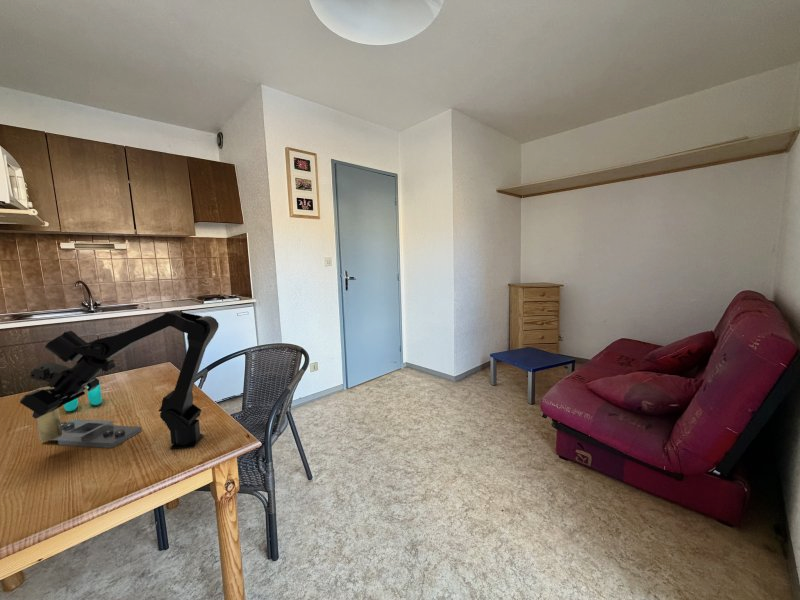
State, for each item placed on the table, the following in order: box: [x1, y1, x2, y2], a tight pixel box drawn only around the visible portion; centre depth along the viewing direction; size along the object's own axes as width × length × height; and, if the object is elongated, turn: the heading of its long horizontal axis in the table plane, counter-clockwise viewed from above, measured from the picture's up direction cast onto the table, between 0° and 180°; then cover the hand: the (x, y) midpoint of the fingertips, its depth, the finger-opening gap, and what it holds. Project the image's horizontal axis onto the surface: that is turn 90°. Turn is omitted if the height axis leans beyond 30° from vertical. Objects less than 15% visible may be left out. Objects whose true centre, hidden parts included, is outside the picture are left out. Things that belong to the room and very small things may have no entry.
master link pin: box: [32, 386, 62, 442], centre depth 88 cm, size 4×4×14 cm
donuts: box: [63, 381, 103, 412], centre depth 120 cm, size 10×10×10 cm
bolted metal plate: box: [51, 418, 142, 449], centre depth 99 cm, size 24×10×4 cm, turn 84°
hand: (42, 413), depth 88 cm, fingers closed on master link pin, 4 cm apart
